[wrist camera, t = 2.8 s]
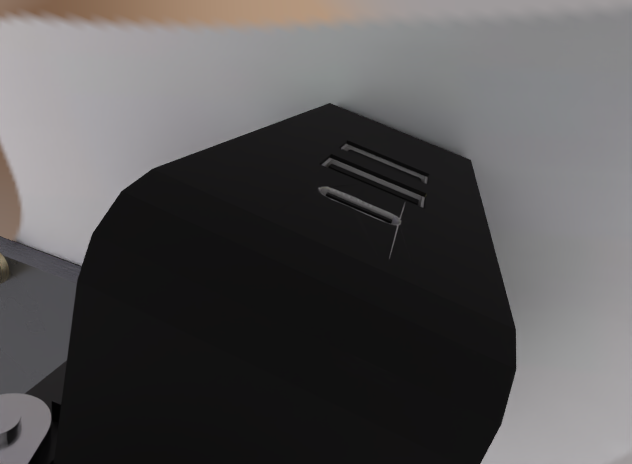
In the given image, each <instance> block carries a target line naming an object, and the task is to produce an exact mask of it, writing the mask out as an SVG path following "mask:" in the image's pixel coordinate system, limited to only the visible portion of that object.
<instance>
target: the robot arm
mask: <svg viewBox="0 0 632 464" xmlns="http://www.w3.org/2000/svg"><path fill="white" fill-rule="evenodd" d="M66 363H67V361H65V362H64V363H63V364H61V365H60V366H59V367H58V368H56V369H55V370H54V371H53V372H51V373H50V374H49V375H48V376H46V377H45V378H44V379H43V380H41V381H40V382H39V383H38V384H36V385H35V386H34V387H33V388H31V389H30V390H29V391H27V392H26V393H25V394H19V393H10V394H2V395H0V464H53V463H54V456H55V448H56V440H57V433H58V425H59V417H60V409H61V402H62V394H63V386H64V379H65V371H66Z"/></svg>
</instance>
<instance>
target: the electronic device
mask: <svg viewBox="0 0 632 464" xmlns="http://www.w3.org/2000/svg"><path fill="white" fill-rule="evenodd" d="M515 372H516V328H515V325H514V321H513V317H512V313H511V310H510V306H509V302H508V298H507V294H506V291H505V287H504V283H503V279H502V276H501V272H500V268H499V264H498V261H497V257H496V253H495V249H494V246H493V242H492V238H491V234H490V230H489V227H488V223H487V219H486V215H485V212H484V208H483V204H482V200H481V197H480V193H479V189H478V185H477V181H476V178H475V174H474V170H473V166H472V163H471V160H469V159H467V158H464V157H462V156H459V155H457V154H454V153H452V152H449V151H447V150H444V149H442V148H439V147H437V146H435V145H432V144H430V143H427V142H425V141H422V140H420V139H417V138H415V137H412V136H410V135H407V134H405V133H402V132H400V131H397V130H395V129H392V128H390V127H387V126H385V125H383V124H380V123H378V122H375V121H373V120H370V119H368V118H365V117H363V116H360V115H358V114H355V113H353V112H350V111H348V110H345V109H343V108H340V107H338V106H335V105H333V104H331V103H329V104H326V105H324V106H321V107H318V108H315V109H313V110H310V111H307V112H305V113H302V114H299V115H297V116H294V117H291V118H289V119H286V120H283V121H280V122H278V123H275V124H272V125H270V126H267V127H264V128H262V129H259V130H256V131H253V132H251V133H248V134H245V135H243V136H240V137H237V138H235V139H232V140H229V141H227V142H224V143H221V144H218V145H216V146H213V147H210V148H208V149H205V150H202V151H200V152H197V153H194V154H191V155H189V156H186V157H183V158H181V159H178V160H175V161H173V162H170V163H167V164H164V165H162V166H159V167H156V168H154V169H152V170H150V171H149V172H148V173H146V174H145V175H143V176H142V177H141V178H139V179H138V180H137V181H135V182H134V183H132V184H131V185H130V186H128V187H127V188H126V189H124V190H123V191H122V192H121V193H120V194H119V196H118V197H117V199H116V200H115V202H114V203H113V205H112V206H111V208H110V209H109V210H108V212H107V213H106V215H105V216H104V218H103V219H102V221H101V222H100V223H99V225H98V226H97V228H96V229H95V231H94V232H93V234H92V237H91V240H90V243H89V246H88V249H87V252H86V255H85V258H84V261H83V264H82V267H81V270H80V273H79V276H78V280H77V286H76V294H75V302H74V309H73V317H72V325H71V332H70V340H69V348H68V355H67V363H66V371H65V379H64V386H63V394H62V402H61V409H60V417H59V425H58V433H57V440H56V448H55V456H54V463H53V464H480V463H481V461H482V459H483V458H484V456H485V454H486V452H487V450H488V448H489V446H490V444H491V443H492V441H493V439H494V437H495V435H496V433H497V431H498V429H499V428H500V426H501V423H502V420H503V416H504V412H505V409H506V405H507V401H508V398H509V394H510V390H511V386H512V383H513V379H514V375H515Z"/></svg>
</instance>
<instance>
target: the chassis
mask: <svg viewBox="0 0 632 464" xmlns="http://www.w3.org/2000/svg"><path fill="white" fill-rule="evenodd" d="M80 270H81V266H78V265H75V264H73V263H70V262H67V261H65V260H62V259H59V258H57V257H54V256H51V255H49V254H46V253H43V252H41V251H38V250H35V249H33V248H30V247H27V246H25V245H22V244H19V243H17V242H14V241H11V240H9V239H6V238H3V237H1V236H0V395H2V394H10V393H19V394H25V393H26V392H27V391H29V390H30V389H31V388H33V387H34V386H35V385H36V384H38V383H39V382H40V381H41V380H43V379H44V378H45V377H46V376H48V375H49V374H50V373H51V372H53V371H54V370H55V369H56V368H58V367H59V366H60V365H61V364H63V363H64V362H65V361H67V355H68V348H69V340H70V332H71V325H72V317H73V309H74V302H75V294H76V286H77V280H78V276H79V273H80Z"/></svg>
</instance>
